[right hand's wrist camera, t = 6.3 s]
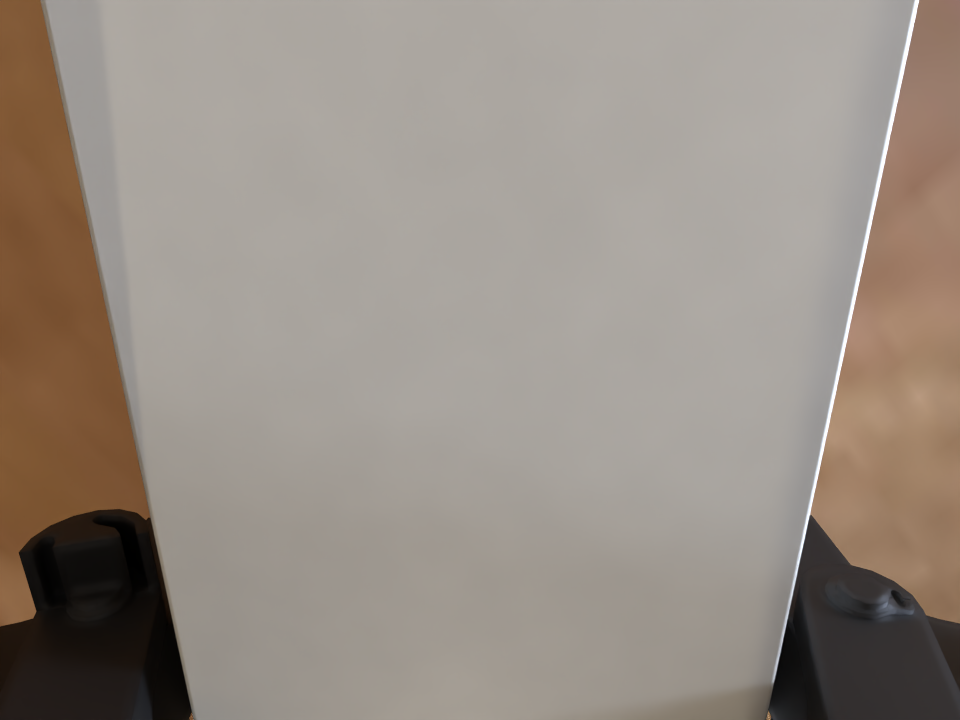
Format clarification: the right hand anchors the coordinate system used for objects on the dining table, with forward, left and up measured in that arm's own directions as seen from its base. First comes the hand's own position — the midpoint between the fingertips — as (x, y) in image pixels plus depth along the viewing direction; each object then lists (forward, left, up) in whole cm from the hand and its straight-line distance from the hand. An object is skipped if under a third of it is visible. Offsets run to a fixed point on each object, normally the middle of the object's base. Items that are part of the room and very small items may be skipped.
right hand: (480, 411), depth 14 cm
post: (+3, -27, -1) cm, 27 cm away
